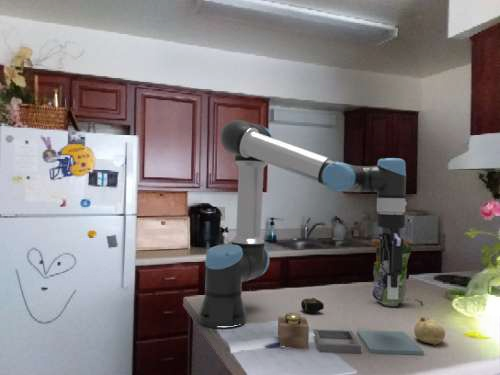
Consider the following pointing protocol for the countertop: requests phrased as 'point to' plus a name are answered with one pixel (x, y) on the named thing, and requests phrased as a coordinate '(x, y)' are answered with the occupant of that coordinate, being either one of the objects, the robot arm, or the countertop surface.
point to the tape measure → (312, 305)
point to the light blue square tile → (389, 342)
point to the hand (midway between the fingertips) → (389, 296)
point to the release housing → (293, 333)
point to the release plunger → (293, 317)
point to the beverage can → (382, 284)
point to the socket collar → (337, 348)
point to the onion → (429, 331)
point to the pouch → (402, 281)
